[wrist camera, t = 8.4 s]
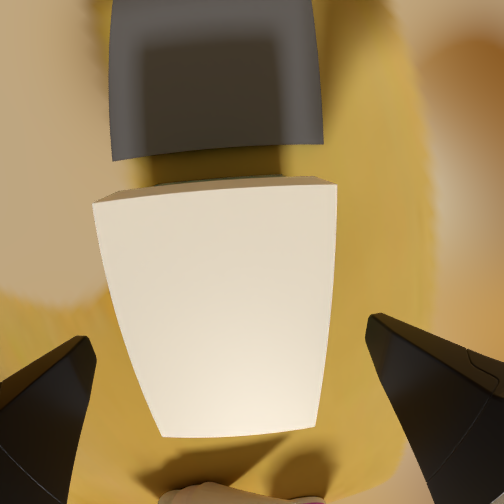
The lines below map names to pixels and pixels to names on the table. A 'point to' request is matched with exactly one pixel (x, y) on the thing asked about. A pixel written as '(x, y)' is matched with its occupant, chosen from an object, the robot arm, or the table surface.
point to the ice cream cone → (217, 496)
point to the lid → (224, 299)
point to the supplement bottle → (309, 500)
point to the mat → (212, 75)
